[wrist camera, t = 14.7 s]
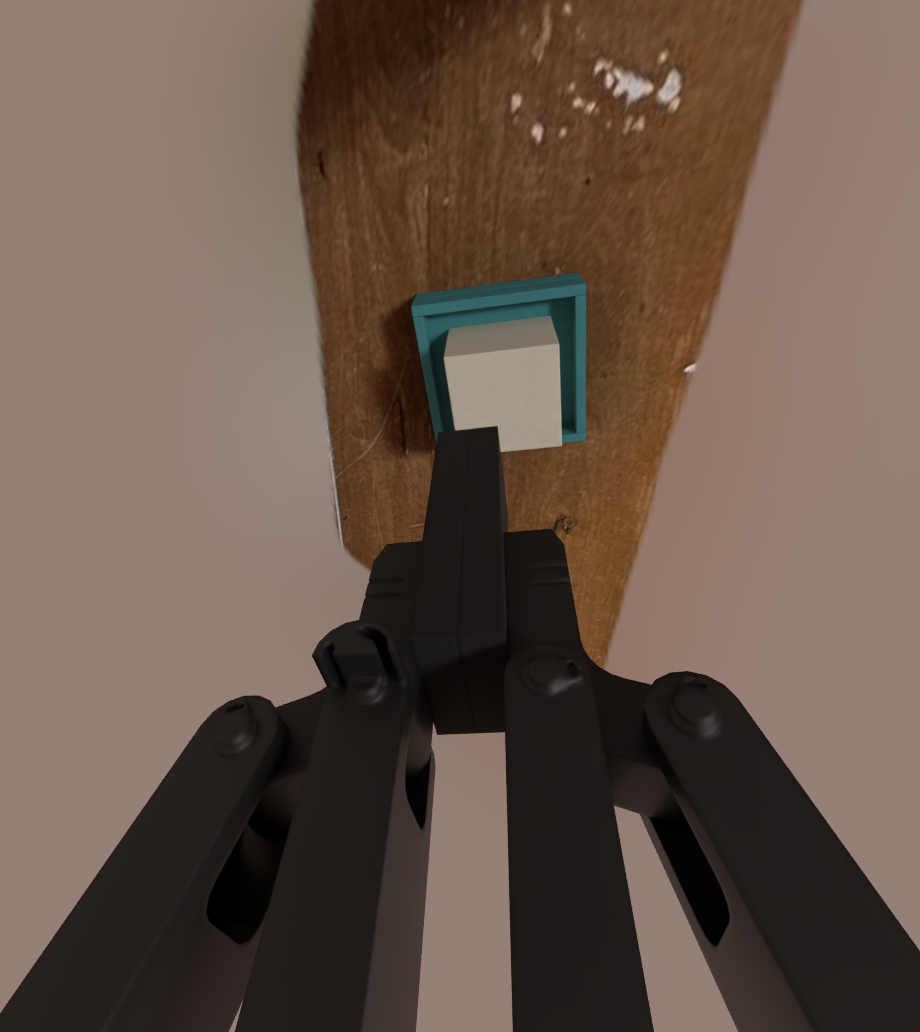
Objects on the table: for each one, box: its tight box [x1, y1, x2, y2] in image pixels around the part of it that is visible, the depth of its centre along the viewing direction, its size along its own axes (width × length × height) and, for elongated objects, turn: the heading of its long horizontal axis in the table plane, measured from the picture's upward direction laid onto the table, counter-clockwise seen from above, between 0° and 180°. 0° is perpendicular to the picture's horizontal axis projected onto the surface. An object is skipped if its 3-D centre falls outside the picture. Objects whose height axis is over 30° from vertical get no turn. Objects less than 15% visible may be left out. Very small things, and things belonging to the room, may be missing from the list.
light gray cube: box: [444, 316, 562, 452], centre depth 26 cm, size 5×5×4 cm
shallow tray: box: [411, 273, 586, 445], centre depth 27 cm, size 8×8×2 cm
